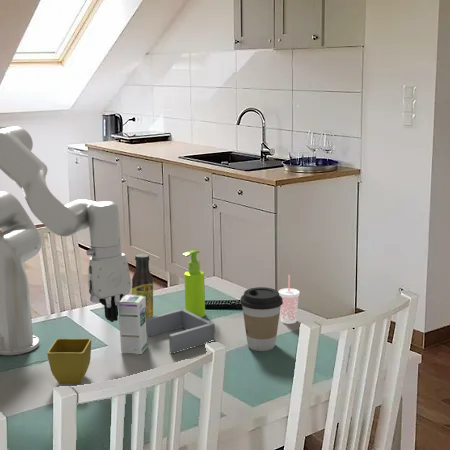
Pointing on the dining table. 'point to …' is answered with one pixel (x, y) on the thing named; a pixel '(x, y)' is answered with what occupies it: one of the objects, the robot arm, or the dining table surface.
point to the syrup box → (133, 324)
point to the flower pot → (69, 359)
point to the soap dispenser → (194, 286)
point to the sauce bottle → (143, 282)
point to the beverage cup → (289, 304)
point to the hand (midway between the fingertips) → (112, 319)
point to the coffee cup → (261, 317)
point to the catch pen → (194, 336)
